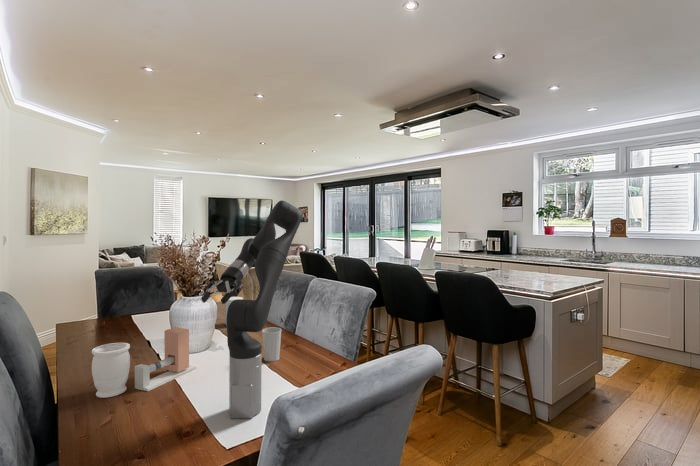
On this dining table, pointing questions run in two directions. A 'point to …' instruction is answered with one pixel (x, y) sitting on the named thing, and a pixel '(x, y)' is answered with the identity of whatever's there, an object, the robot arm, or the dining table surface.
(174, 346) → the salmon pink rectangular block
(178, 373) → the pipe stand
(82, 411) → the dining table surface
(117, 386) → the jar
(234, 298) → the supplement tub
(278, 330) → the cup
